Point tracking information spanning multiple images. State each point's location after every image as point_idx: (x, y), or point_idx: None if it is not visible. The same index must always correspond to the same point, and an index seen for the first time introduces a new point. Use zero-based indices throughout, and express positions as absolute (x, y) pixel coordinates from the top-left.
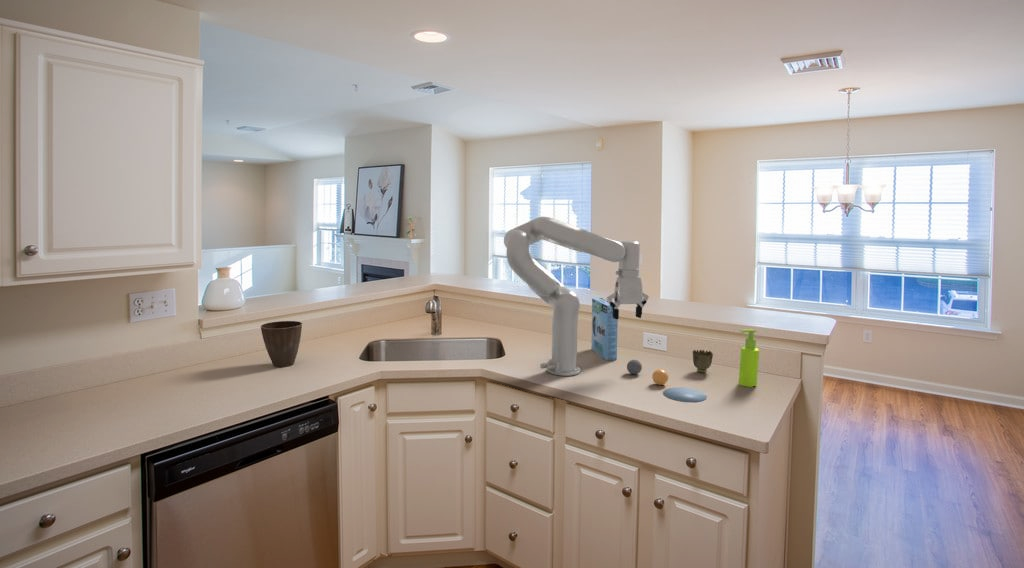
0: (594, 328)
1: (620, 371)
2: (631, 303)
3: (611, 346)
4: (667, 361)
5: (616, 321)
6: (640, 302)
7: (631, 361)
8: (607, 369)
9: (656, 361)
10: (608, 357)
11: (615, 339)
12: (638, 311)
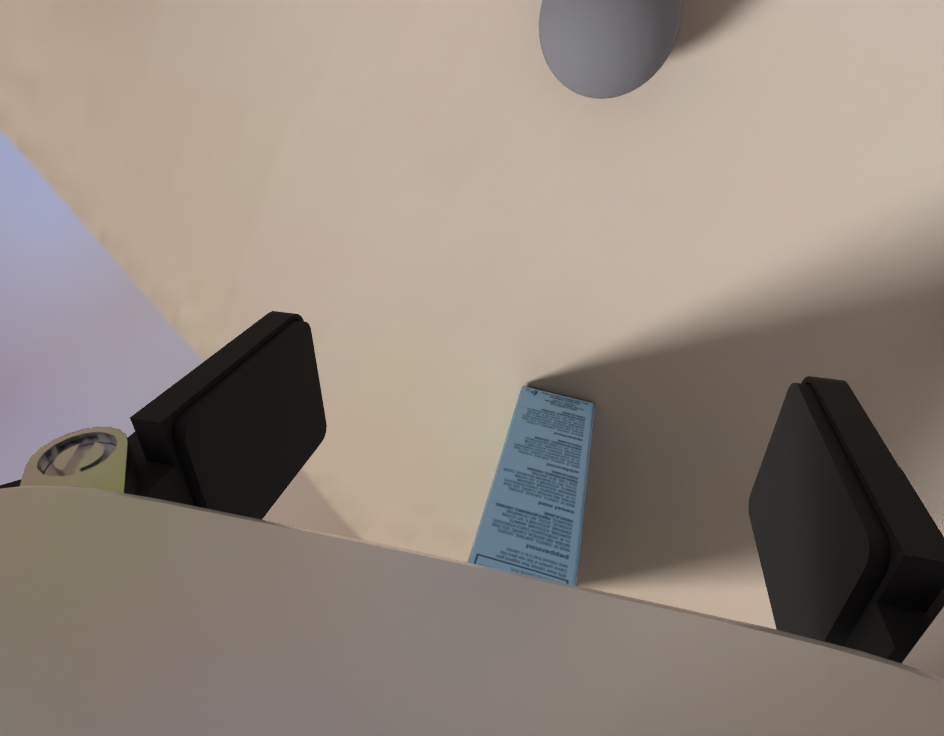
0: None
1: (668, 137)
2: (404, 552)
3: (549, 451)
4: (231, 246)
5: None
6: (11, 488)
7: (647, 12)
8: (731, 222)
9: (296, 270)
10: (578, 409)
11: (509, 479)
12: (250, 419)
